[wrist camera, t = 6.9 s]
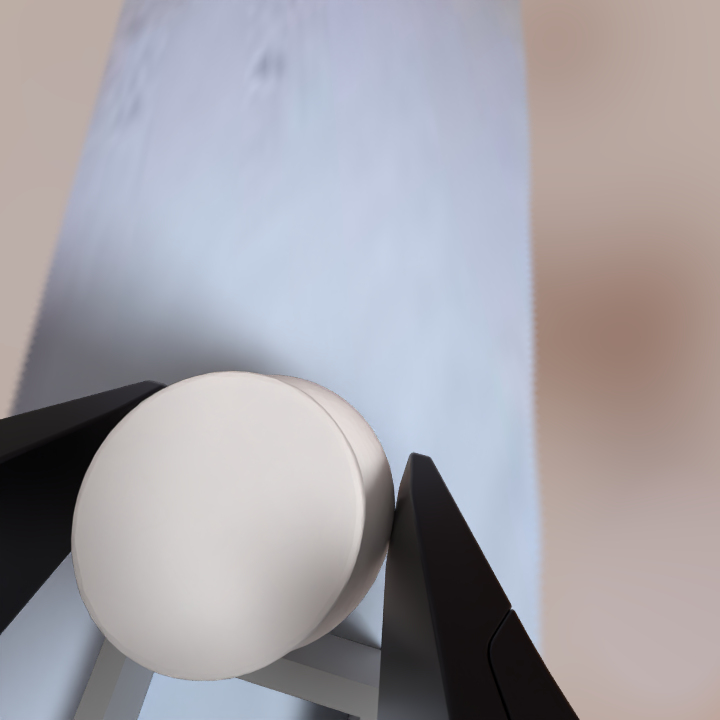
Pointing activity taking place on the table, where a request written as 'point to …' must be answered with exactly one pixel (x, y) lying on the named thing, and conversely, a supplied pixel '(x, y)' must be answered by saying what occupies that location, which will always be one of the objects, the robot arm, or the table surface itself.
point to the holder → (251, 680)
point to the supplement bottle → (231, 523)
